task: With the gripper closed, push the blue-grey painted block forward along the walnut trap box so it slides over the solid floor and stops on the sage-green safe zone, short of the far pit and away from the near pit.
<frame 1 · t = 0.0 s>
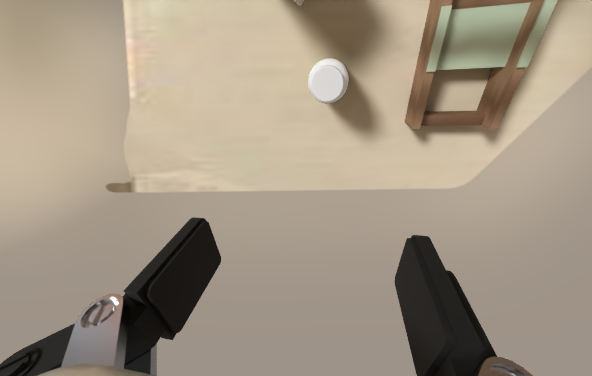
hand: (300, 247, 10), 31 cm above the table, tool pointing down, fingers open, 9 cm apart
supplement bottle: (330, 77, 34), on the table
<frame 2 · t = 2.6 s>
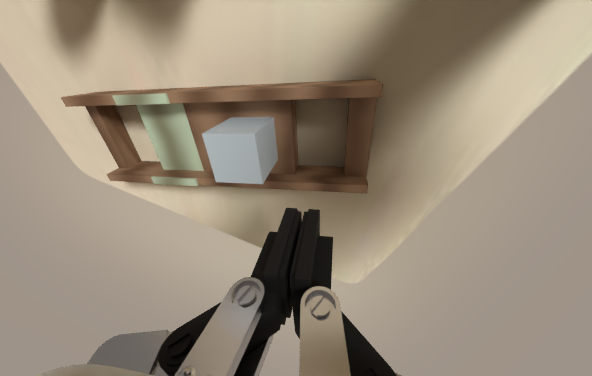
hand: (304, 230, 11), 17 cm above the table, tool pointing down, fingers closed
trap box: (229, 132, 27), on the table
block: (255, 139, 25), point 2 cm above the table, touching trap box
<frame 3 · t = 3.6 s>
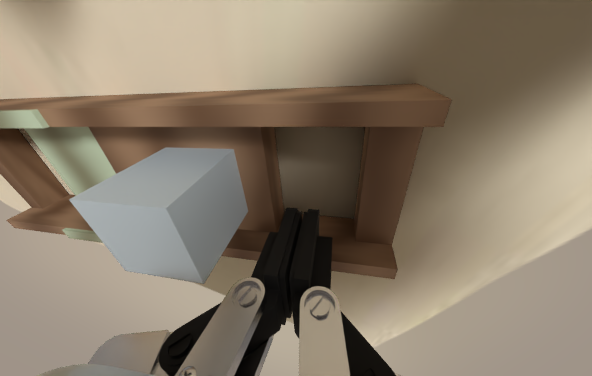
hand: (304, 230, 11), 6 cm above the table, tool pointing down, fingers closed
trap box: (177, 163, 18), on the table
block: (209, 181, 15), point 2 cm above the table, touching trap box
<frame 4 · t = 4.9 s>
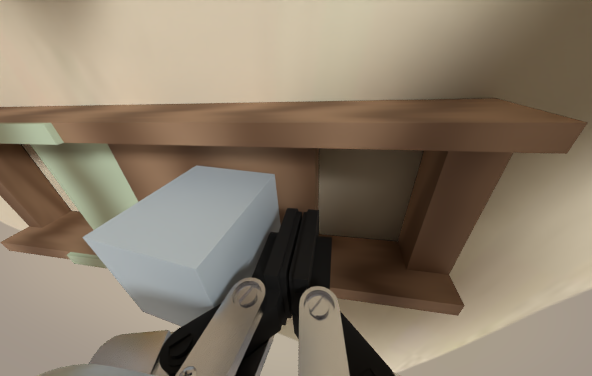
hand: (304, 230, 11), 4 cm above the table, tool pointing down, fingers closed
trap box: (201, 180, 16), on the table
block: (241, 205, 13), point 3 cm above the table, tilted 7°, touching gripper, trap box
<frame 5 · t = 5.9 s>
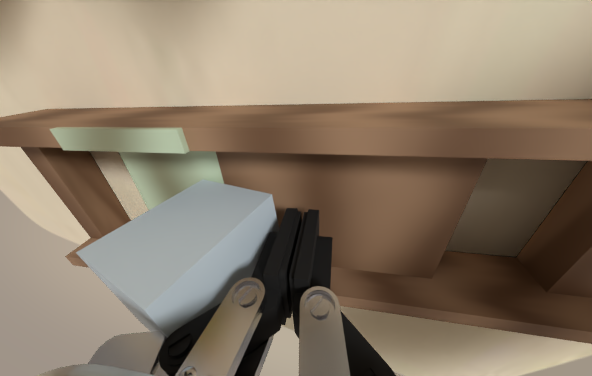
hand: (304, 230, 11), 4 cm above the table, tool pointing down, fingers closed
trap box: (294, 189, 14), on the table
block: (245, 222, 12), point 3 cm above the table, tilted 19°, touching gripper
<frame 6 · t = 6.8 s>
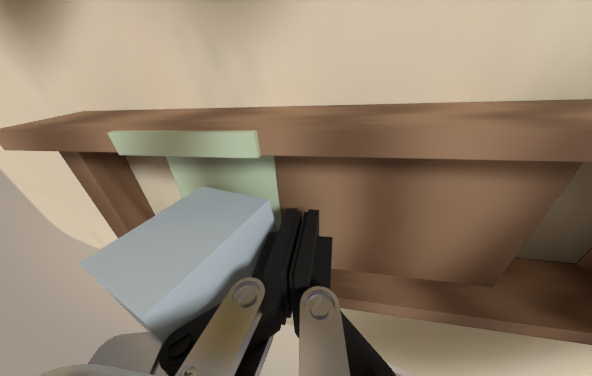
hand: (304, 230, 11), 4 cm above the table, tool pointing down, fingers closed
trap box: (342, 193, 14), on the table
block: (245, 227, 12), point 3 cm above the table, tilted 19°, touching gripper, trap box
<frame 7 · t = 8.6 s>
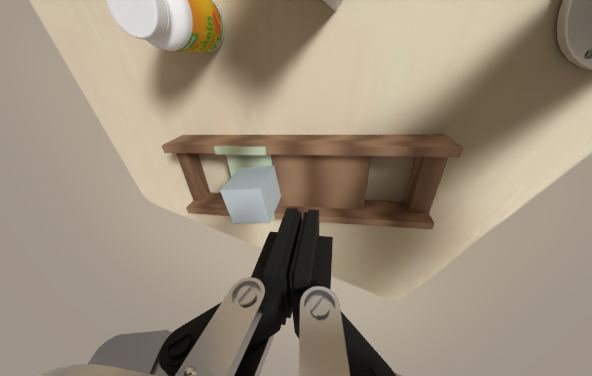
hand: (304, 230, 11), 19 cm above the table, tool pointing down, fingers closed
trap box: (301, 171, 31), on the table
block: (261, 182, 30), point 2 cm above the table, touching trap box
supplement bottle: (203, 24, 24), on the table
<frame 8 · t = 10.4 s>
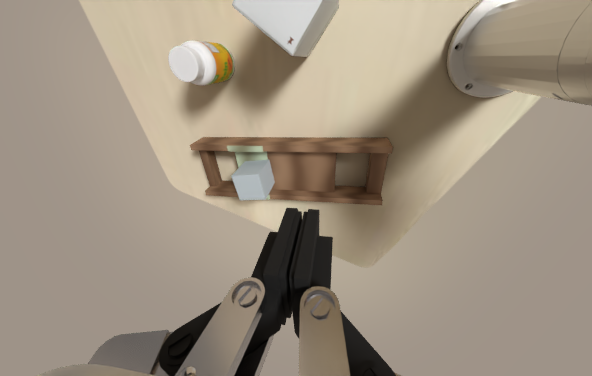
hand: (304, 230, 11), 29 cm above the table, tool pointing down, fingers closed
supplement box: (303, 15, 30), on the table
trap box: (289, 164, 42), on the table
block: (260, 172, 41), point 2 cm above the table, touching trap box
supplement bottle: (220, 63, 35), on the table
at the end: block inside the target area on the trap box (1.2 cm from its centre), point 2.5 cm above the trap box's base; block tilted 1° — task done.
